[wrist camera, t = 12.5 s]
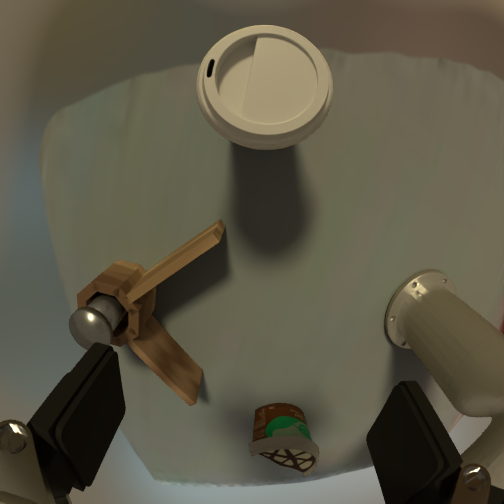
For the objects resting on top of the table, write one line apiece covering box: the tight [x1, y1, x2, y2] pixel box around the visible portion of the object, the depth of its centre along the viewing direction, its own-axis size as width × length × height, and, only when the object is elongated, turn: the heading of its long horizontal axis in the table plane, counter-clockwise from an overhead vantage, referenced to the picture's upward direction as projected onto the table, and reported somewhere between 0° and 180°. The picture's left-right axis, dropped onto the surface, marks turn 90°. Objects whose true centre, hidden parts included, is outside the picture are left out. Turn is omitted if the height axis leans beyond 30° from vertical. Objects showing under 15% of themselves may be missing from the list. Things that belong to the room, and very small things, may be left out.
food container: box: [249, 403, 319, 477], centre depth 38 cm, size 12×6×10 cm, turn 47°
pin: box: [69, 293, 128, 350], centre depth 31 cm, size 5×5×11 cm
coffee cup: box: [196, 25, 333, 150], centre depth 23 cm, size 10×10×15 cm
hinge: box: [77, 219, 225, 406], centre depth 33 cm, size 20×20×7 cm
